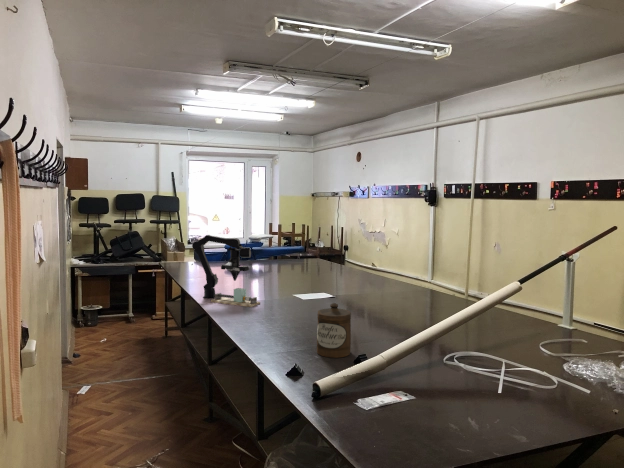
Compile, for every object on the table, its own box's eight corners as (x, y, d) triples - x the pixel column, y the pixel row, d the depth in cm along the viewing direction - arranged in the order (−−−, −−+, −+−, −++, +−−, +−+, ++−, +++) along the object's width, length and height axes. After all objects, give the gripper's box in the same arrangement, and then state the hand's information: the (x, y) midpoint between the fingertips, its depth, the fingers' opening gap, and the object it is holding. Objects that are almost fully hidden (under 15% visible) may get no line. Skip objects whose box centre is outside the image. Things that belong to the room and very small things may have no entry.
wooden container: (311, 355, 206) (312, 304, 204) (323, 345, 220) (324, 298, 218) (344, 360, 201) (346, 308, 199) (354, 349, 215) (355, 301, 213)
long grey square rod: (215, 297, 311) (215, 293, 310) (218, 296, 313) (218, 292, 313) (253, 301, 299) (253, 298, 299) (255, 301, 301) (255, 297, 301)
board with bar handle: (211, 301, 307) (211, 294, 307) (221, 298, 317) (221, 291, 317) (251, 307, 295) (251, 299, 294) (260, 303, 305) (260, 296, 304)
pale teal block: (233, 301, 303) (233, 289, 303) (238, 299, 308) (238, 287, 307) (241, 302, 301) (241, 290, 300) (245, 300, 306) (246, 288, 305)
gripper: (216, 257, 314) (216, 281, 315) (240, 259, 306) (240, 283, 307) (225, 255, 324) (225, 278, 325) (249, 257, 316) (249, 281, 317)
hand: (234, 280), depth 318 cm, fingers closed
